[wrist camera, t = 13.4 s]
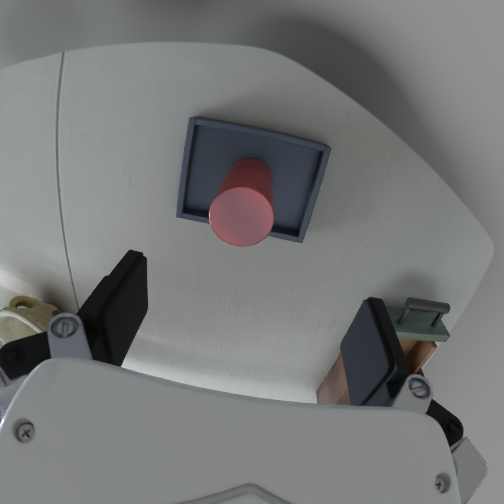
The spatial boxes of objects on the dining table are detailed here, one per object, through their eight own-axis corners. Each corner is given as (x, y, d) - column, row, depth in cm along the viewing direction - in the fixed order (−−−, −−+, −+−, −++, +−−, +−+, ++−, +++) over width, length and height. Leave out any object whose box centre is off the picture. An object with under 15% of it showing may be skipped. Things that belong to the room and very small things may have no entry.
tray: (327, 144, 26) (331, 147, 25) (300, 234, 31) (302, 243, 30) (194, 116, 26) (189, 117, 24) (181, 210, 31) (176, 217, 29)
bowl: (13, 303, 41) (-12, 334, 33) (38, 257, 35) (1, 294, 27) (75, 361, 48) (56, 396, 39) (115, 334, 42) (92, 379, 33)
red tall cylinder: (251, 147, 26) (243, 172, 18) (281, 180, 28) (287, 221, 19) (218, 177, 28) (195, 215, 19) (248, 207, 30) (239, 258, 21)
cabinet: (347, 342, 39) (355, 377, 34) (412, 347, 40) (425, 378, 34) (316, 391, 46) (319, 423, 40) (375, 393, 47) (382, 421, 41)
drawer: (388, 281, 33) (401, 305, 29) (450, 292, 33) (465, 314, 29) (340, 365, 41) (345, 390, 37) (398, 367, 41) (406, 390, 37)
